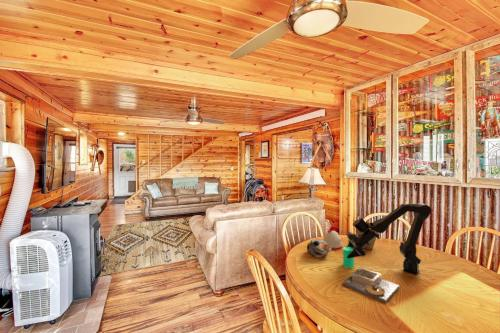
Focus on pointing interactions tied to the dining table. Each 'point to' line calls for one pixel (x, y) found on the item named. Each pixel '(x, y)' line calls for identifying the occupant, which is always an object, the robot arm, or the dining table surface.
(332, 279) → the dining table surface
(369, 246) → the plant pot
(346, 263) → the candle
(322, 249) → the lucky cat figurine
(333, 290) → the dining table surface
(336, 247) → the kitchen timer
